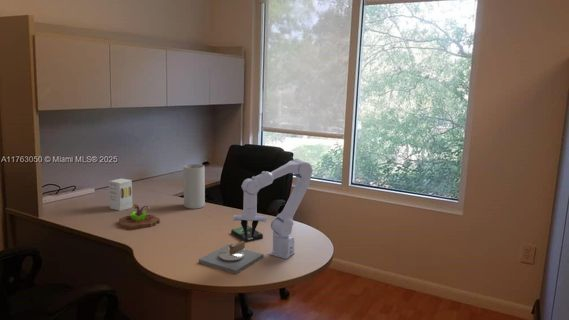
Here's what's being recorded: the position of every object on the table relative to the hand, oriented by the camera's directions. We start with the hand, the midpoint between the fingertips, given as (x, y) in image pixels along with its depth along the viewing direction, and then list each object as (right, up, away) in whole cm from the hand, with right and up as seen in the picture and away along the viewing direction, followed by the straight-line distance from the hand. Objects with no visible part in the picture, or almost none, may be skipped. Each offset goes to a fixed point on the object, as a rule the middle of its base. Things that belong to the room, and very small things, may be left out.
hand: (249, 236), depth 191 cm
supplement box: (-82, +5, +70) cm, 108 cm away
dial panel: (-8, -10, +1) cm, 13 cm away
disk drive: (-4, -5, +31) cm, 31 cm away
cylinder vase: (-40, +5, +78) cm, 87 cm away
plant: (-63, -1, +45) cm, 78 cm away
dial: (-7, -8, +2) cm, 11 cm away
